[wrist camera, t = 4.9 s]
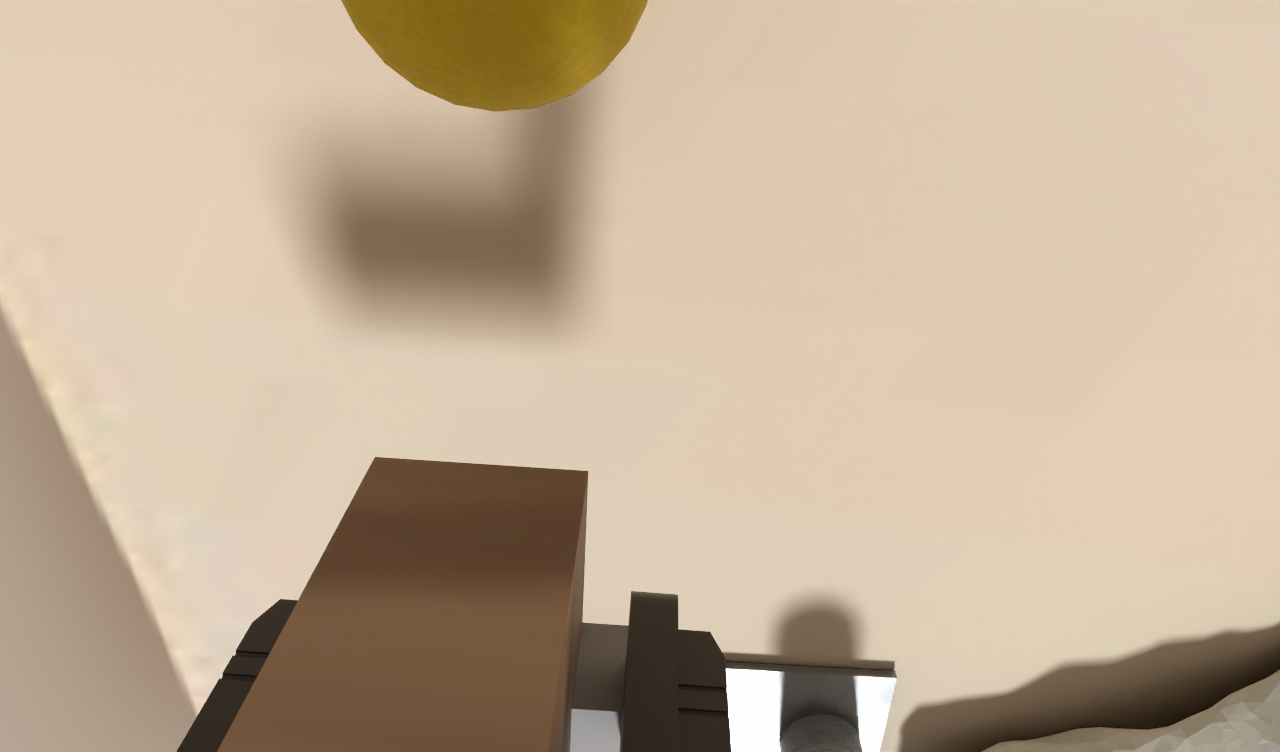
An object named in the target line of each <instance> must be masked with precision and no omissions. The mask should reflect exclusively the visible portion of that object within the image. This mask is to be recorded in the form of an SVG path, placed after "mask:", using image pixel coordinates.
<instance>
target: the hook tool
mask: <svg viewBox="0 0 1280 752" xmlns="http://www.w3.org/2000/svg"><path fill="white" fill-rule="evenodd" d="M587 487H588V471H577V470H561V469H546V468H531V467H516V466H501V465H486V464H471V463H456V462H440V461H425V460H410V459H395V458H380V457H375V458H374V460H373V462H372V464H371V466H370V468H369V469H368V471H367V473H366V475H365V477H364V479H363V481H362V482H361V484H360V486H359V488H358V490H357V492H356V494H355V496H354V497H353V499H352V501H351V503H350V505H349V507H348V509H347V510H346V512H345V514H344V516H343V518H342V520H341V522H340V523H339V525H338V527H337V529H336V531H335V533H334V535H333V536H332V538H331V540H330V542H329V544H328V546H327V548H326V550H325V551H324V553H323V555H322V557H321V559H320V561H319V563H318V564H317V566H316V568H315V570H314V572H313V574H312V576H311V577H310V579H309V581H308V583H307V585H306V587H305V589H304V590H303V592H302V594H301V596H300V598H299V600H298V602H297V604H296V605H295V607H294V609H293V611H292V613H291V615H290V617H289V618H288V620H287V622H286V624H285V626H284V628H283V630H282V631H281V633H280V635H279V637H278V639H277V641H276V643H275V644H274V646H273V648H272V650H271V652H270V654H269V656H268V658H267V659H266V661H265V663H264V665H263V667H262V669H261V671H260V672H259V674H258V676H257V678H256V680H255V682H254V684H253V685H252V687H251V689H250V691H249V693H248V695H247V697H246V698H245V700H244V702H243V704H242V706H241V708H240V710H239V712H238V713H237V715H236V717H235V719H234V721H233V723H232V725H231V726H230V728H229V730H228V732H227V734H226V736H225V738H224V739H223V741H222V743H221V745H220V747H219V749H218V751H217V752H619V751H620V736H621V724H622V711H623V696H624V681H625V665H626V652H627V639H628V627H629V626H622V625H607V624H592V623H582V615H583V589H584V563H585V538H586V512H587Z"/></svg>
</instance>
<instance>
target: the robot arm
mask: <svg viewBox="0 0 1280 752" xmlns="http://www.w3.org/2000/svg"><path fill="white" fill-rule="evenodd" d="M297 602H298V601H297V600H283V599H280V600H279V601H278V602H277V603H275V604H274V605H273V606H272V607H271V608H269V609H268V610H267V611H266V612H265V613H263V614H262V615H261V616H260V617H259V618H257V619H256V620H255V621H254V622H253V623H252V624H251V626H250V628H249V629H248V631H247V633H246V634H245V636H244V638H243V639H242V641H241V643H240V645H239V646H238V648H237V650H236V655H235V656H233V657H232V658H231V660H230V662H229V663H228V665H227V667H226V668H225V670H224V672H223V677H222V679H219V680H218V682H217V684H216V685H215V687H214V689H213V691H212V692H211V694H210V696H209V697H208V699H207V701H206V702H205V704H204V706H203V708H202V709H201V711H200V713H199V714H198V716H197V718H196V720H195V721H194V723H193V725H192V727H191V728H190V730H189V731H188V733H187V735H186V737H185V738H184V740H183V742H182V743H181V745H180V747H179V748H178V750H177V752H217V751H218V749H219V747H220V745H221V743H222V741H223V739H224V738H225V736H226V734H227V732H228V730H229V728H230V726H231V725H232V723H233V721H234V719H235V717H236V715H237V713H238V712H239V710H240V708H241V706H242V704H243V702H244V700H245V698H246V697H247V695H248V693H249V691H250V689H251V687H252V685H253V684H254V682H255V680H256V678H257V676H258V674H259V672H260V671H261V669H262V667H263V665H264V663H265V661H266V659H267V658H268V656H269V654H270V652H271V650H272V648H273V646H274V644H275V643H276V641H277V639H278V637H279V635H280V633H281V631H282V630H283V628H284V626H285V624H286V622H287V620H288V618H289V617H290V615H291V613H292V611H293V609H294V607H295V605H296V604H297ZM619 752H732V750H731V736H730V721H729V706H728V693H727V676H726V661H725V657H724V655H723V654H722V652H721V650H720V648H719V647H718V645H717V643H716V642H715V640H714V638H713V636H712V635H711V633H710V632H704V631H691V630H678V595H674V594H661V593H648V592H634V591H631V602H630V614H629V627H628V639H627V652H626V665H625V681H624V696H623V711H622V724H621V736H620V751H619Z"/></svg>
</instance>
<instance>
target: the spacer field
mask: <svg viewBox="0 0 1280 752" xmlns="http://www.w3.org/2000/svg"><path fill="white" fill-rule="evenodd" d="M726 676H727V693H728V706H729V721H730V736H731V750H732V752H879V751H880V747H881V743H882V739H883V735H884V730H885V726H886V722H887V718H888V714H889V710H890V705H891V701H892V697H893V693H894V689H895V684H896V680H897V676H896V673H895V671H887V670H868V669H850V668H831V667H813V666H794V665H775V664H757V663H738V662H726Z"/></svg>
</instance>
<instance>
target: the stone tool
mask: <svg viewBox="0 0 1280 752" xmlns="http://www.w3.org/2000/svg"><path fill="white" fill-rule="evenodd" d="M981 752H1280V670H1278V671H1277V672H1275V673H1274V674H1272V675H1271V676H1269V677H1267V678H1265V679H1263V680H1261V681H1258V682H1256V683H1254V684H1252V685H1249V686H1247V687H1245V688H1243V689H1240V690H1238V691H1236V692H1234V693H1231V694H1229V695H1228V696H1226V697H1225V698H1224V699H1222V700H1221V701H1219V702H1218V703H1216V704H1215V705H1214V706H1212V707H1211V708H1209V709H1207V710H1204V711H1202V712H1200V713H1197V714H1195V715H1193V716H1190V717H1188V718H1186V719H1184V720H1182V721H1180V722H1177V723H1175V724H1173V725H1171V726H1168V727H1162V728H1155V729H1149V730H1142V729H1122V728H1107V727H1094V728H1081V729H1073V730H1069V731H1066V732H1062V733H1058V734H1054V735H1050V736H1045V737H1041V738H1036V739H1031V740H1021V741H1007V742H999V743H997V744H995V745H993V746H991V747H989V748H987V749H985V750H983V751H981Z"/></svg>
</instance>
